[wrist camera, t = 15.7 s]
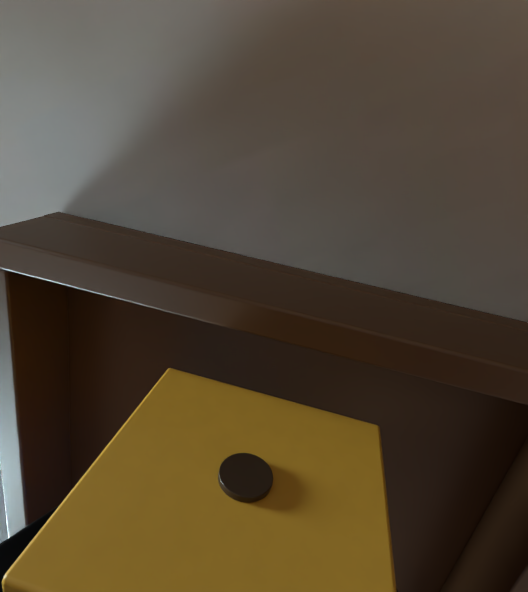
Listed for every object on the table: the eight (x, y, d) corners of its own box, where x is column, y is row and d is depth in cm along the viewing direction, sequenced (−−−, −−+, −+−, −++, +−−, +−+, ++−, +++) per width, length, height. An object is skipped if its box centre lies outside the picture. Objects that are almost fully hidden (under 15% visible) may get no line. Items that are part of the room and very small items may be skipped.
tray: (391, 692, 15) (399, 795, 13) (67, 578, 17) (20, 652, 14) (597, 338, 9) (686, 409, 7) (57, 211, 11) (-27, 232, 8)
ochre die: (326, 569, 10) (309, 896, 6) (153, 512, 10) (15, 774, 6) (382, 419, 8) (418, 738, 4) (169, 360, 8) (-13, 583, 4)
